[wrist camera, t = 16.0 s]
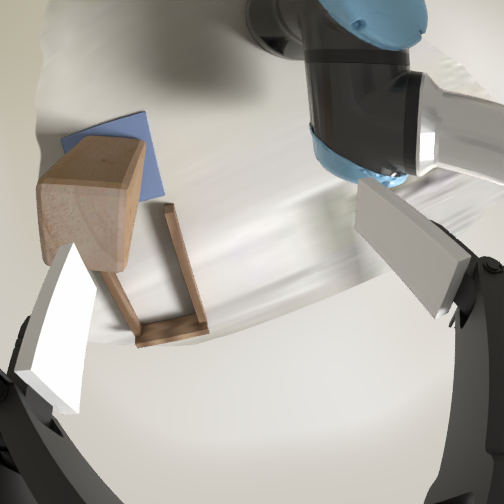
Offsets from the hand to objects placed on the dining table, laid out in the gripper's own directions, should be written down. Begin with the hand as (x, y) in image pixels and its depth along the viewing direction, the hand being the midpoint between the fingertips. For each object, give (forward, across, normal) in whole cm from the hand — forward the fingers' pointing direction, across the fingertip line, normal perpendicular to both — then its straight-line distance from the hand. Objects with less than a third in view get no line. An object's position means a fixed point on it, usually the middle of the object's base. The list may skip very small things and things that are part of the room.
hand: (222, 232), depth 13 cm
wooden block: (+34, -13, -5) cm, 37 cm away
